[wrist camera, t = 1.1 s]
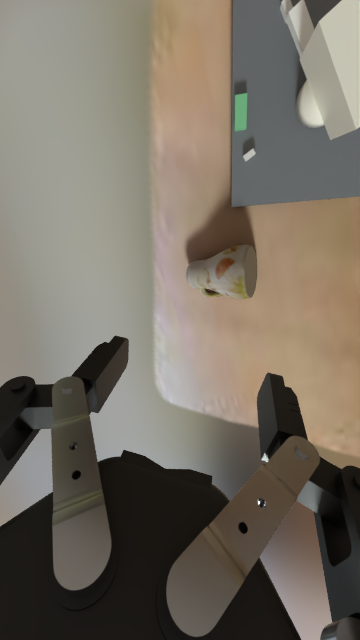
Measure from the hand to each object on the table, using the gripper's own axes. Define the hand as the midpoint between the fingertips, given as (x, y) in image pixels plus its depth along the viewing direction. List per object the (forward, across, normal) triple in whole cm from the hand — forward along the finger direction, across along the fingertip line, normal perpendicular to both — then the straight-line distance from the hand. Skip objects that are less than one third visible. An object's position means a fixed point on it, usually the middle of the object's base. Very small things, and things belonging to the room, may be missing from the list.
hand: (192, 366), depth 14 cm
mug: (+25, -1, +2) cm, 26 cm away
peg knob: (+23, -5, -18) cm, 30 cm away
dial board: (+25, -6, -17) cm, 31 cm away
